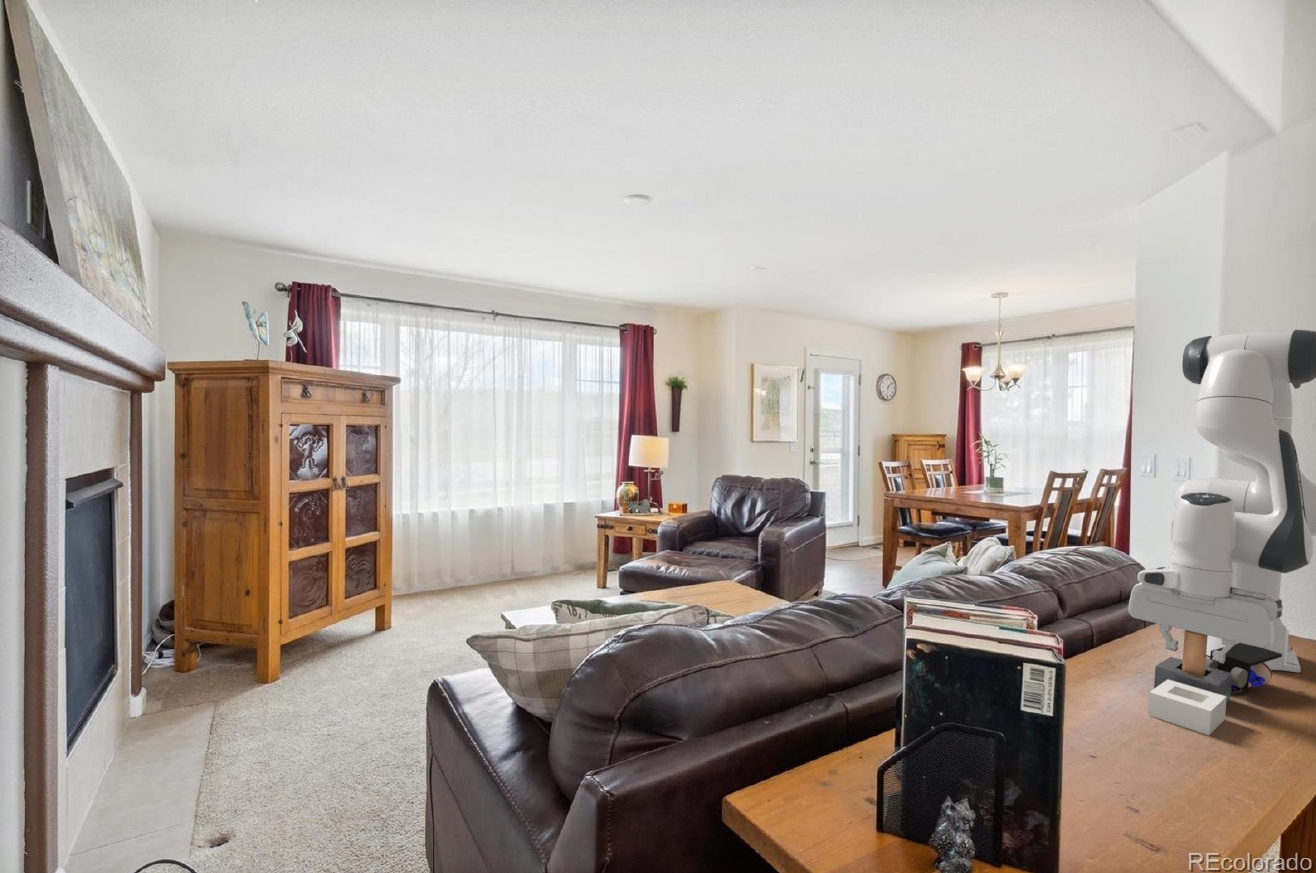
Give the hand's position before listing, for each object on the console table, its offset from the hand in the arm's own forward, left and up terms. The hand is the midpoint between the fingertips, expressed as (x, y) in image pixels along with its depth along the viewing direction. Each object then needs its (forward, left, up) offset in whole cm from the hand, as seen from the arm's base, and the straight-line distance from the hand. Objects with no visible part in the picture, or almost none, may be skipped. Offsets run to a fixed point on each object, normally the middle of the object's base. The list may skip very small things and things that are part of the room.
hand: (1194, 655), depth 114 cm
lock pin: (0, 0, -8) cm, 8 cm away
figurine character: (-14, +4, -8) cm, 17 cm away
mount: (0, 0, -8) cm, 8 cm away
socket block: (+12, +2, -8) cm, 14 cm away
